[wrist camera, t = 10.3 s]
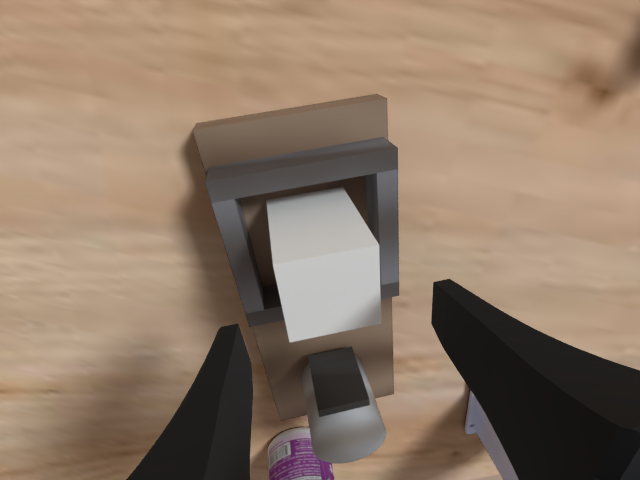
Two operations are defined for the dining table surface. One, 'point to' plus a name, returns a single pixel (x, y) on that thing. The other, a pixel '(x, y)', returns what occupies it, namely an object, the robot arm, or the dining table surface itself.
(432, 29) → the dining table surface
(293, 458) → the pill bottle
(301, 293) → the white block
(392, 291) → the brown board with socket
